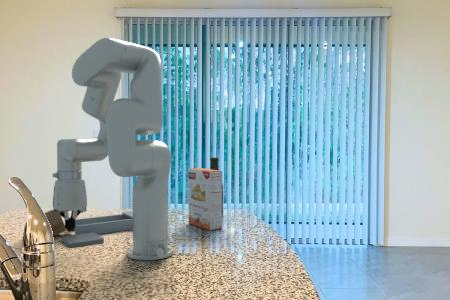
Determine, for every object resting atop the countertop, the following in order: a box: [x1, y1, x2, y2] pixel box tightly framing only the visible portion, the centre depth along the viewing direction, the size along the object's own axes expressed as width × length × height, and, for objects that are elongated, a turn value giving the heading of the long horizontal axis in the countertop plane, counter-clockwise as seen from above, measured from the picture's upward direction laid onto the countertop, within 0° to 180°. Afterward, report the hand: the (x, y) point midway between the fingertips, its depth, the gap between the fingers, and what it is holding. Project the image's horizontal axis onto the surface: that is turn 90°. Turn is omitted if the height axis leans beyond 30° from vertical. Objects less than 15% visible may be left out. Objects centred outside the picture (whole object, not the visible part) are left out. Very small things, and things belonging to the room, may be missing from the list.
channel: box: [74, 210, 133, 235], centre depth 137 cm, size 11×25×4 cm, turn 125°
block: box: [44, 209, 68, 237], centre depth 127 cm, size 6×6×7 cm
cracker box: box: [187, 167, 223, 232], centre depth 141 cm, size 14×6×21 cm, turn 37°
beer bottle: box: [209, 157, 224, 217], centre depth 161 cm, size 8×8×24 cm
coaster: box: [61, 232, 105, 248], centre depth 120 cm, size 10×10×1 cm
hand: (70, 230), depth 130 cm, fingers closed
